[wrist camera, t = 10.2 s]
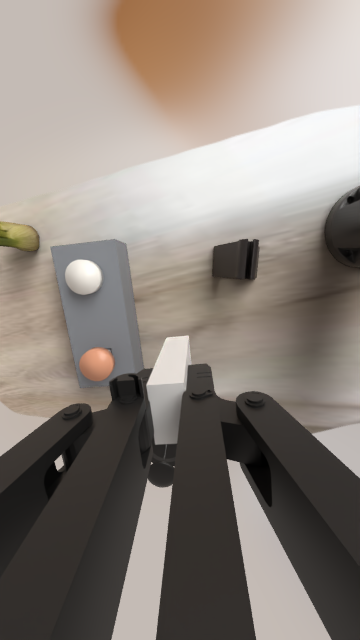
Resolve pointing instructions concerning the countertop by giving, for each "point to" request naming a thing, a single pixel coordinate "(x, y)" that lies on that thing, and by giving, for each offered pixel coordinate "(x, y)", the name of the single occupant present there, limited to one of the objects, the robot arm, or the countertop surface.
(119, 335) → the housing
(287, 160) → the countertop surface
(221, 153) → the countertop surface
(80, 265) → the white rounded knob
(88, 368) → the orange ball knob
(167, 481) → the french press
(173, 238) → the countertop surface
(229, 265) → the phone stand
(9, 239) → the fennel bulb
